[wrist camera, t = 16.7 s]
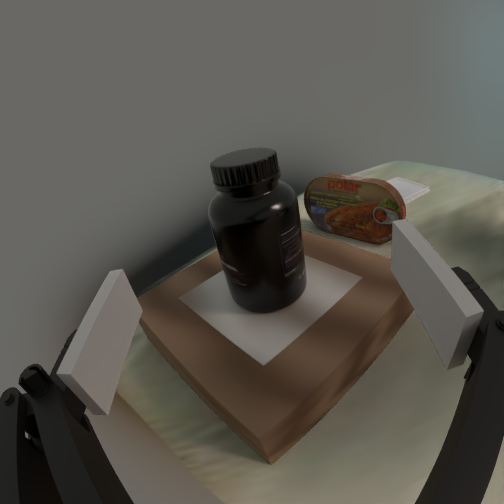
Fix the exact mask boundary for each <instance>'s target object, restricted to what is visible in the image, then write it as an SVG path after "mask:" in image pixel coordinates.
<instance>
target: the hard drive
mask: <svg viewBox="0 0 504 504" xmlns="http://www.w3.org/2000/svg"><path fill="white" fill-rule="evenodd" d="M386 182H388V183H390V184H391V185H392V186H394V187H395V188H396V189H397V190H398V192H399V193H400V194H401V196H402V198H403V200H404V203H405V204H407V203H409V202H411V201H412V200H414V199H416V198H418V197H420V196H422V195H424V194H426V193H427V192H429V187H428V186H426V185H423V184H420V183H417V182H413V181H410V180H407V179H404V178H400V177H396V178H393V179H391V180H388V181H386Z"/></svg>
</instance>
